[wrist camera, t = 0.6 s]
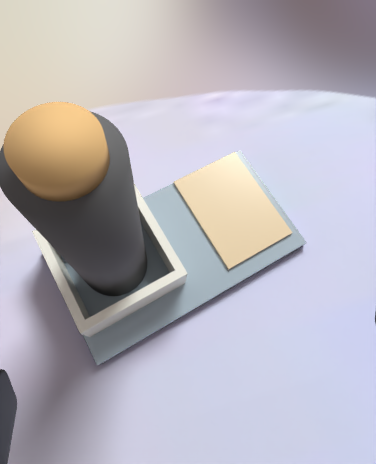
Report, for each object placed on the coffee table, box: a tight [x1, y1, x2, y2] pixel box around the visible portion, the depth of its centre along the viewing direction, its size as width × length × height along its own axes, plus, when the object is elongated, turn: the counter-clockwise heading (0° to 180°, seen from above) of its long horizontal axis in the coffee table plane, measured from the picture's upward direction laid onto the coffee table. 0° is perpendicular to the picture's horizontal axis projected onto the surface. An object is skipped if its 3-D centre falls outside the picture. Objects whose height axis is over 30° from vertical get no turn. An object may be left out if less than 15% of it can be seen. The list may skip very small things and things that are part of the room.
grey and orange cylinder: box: [0, 102, 147, 296], centre depth 16 cm, size 4×4×13 cm
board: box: [32, 151, 306, 366], centre depth 22 cm, size 8×15×3 cm, turn 120°
